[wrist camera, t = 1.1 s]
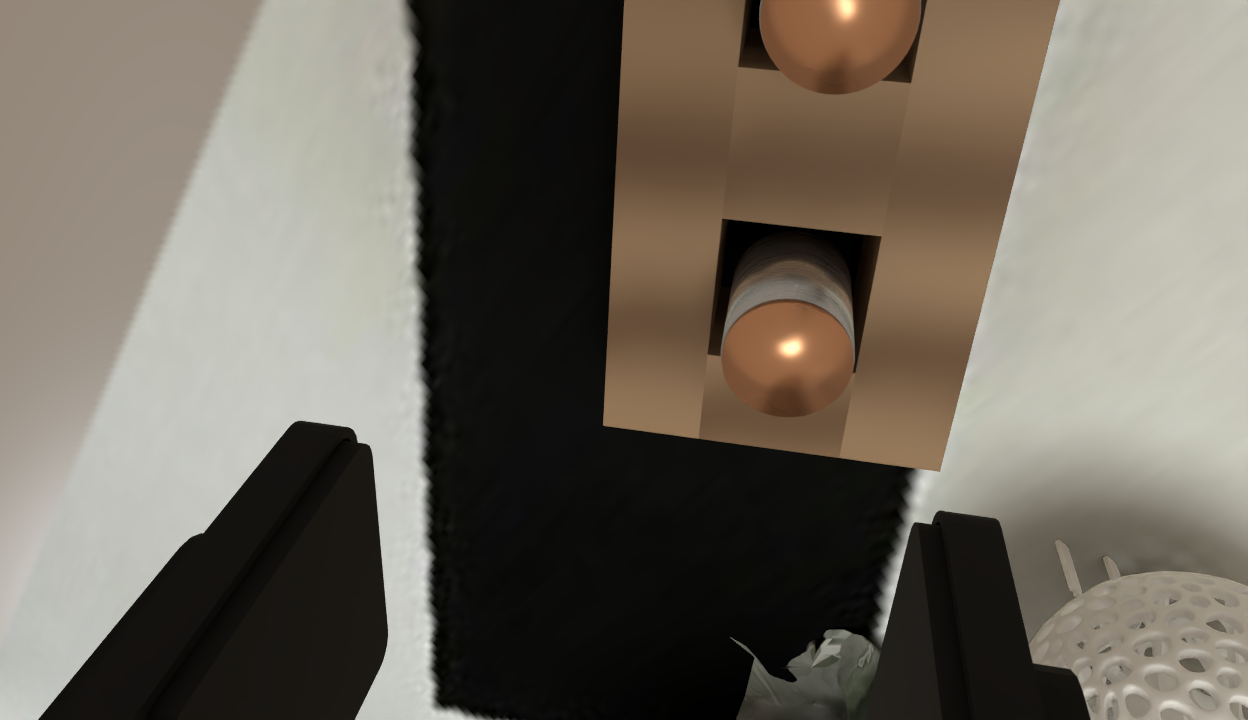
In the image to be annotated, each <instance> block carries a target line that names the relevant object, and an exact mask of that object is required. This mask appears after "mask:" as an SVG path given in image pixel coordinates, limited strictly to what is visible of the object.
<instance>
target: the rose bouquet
mask: <svg viewBox="0 0 1248 720" xmlns="http://www.w3.org/2000/svg"><path fill="white" fill-rule="evenodd" d="M730 638H731V637H730ZM731 639H732V638H731ZM733 640H734V639H733ZM734 641H735V642H736V643H738V644H739V645H740V646H741V647H743V648H744V649H745V650H746V651H748V652H749V653H750V654H752V655H753V653H752V652H751V651H750V650H749V649H748V648H747V647H746V646H744V645H743V644H741V643H739V642H738V641H736V640H734ZM880 653H881V650H879V649H878V648H876V647H875V646H874V645H873V644H872V643H871V642H870V641H869V640H868V639H867V638H865V637H863V636H862V635H856V634H853V633H852V632H850V631H848V630H841V629H838V630H826V631H825V632H824V634H823V636H822V637H821V639H820V640H813V641H811V642H809V644H808V646H807V647H806V649H805V651H804V652H803V653H802V654H799V655H797V656H795V657H794V658H793V659H792V660H791V661H790V662H789V663H788V666H785V667H782V668H789V671H790V672H791V673H792V674H793V675H794V676H795V677H796V678H797V681H796V682H794V683H792V682H787V681H785V680H782V679H779V678H776V677H773V676H771V675H769V674H768V672H767V671H766V670H765V669H764V667H763V665H762V664H761V663H760V662H759V661H758V659H757V658H756V657H755V656H754V655H753V656H754V657H755V658H754V662H753V666H752V670H751V674H750V678H749V682H748V686H747V690H746V694H745V698H744V700H743V703H742V705H741V708H740V710H739V713H738V715H737V718H736V720H865V716H866V711H867V706H868V702H869V698H870V694H871V690H872V686H873V682H874V678H875V674H876V670H877V666H878V661H879V657H880ZM779 669H781V668H779Z"/></svg>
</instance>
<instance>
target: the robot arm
mask: <svg viewBox="0 0 1248 720" xmlns="http://www.w3.org/2000/svg"><path fill="white" fill-rule="evenodd" d="M387 640H388V625H387V614H386V603H385V591H384V580H383V569H382V557H381V546H380V535H379V523H378V512H377V501H376V489H375V478H374V467H373V456H372V451H371V448H370V446H369V445H367V444H363V443H358V442H357V437H356V434H355V432H354V430H352V429H351V428H349V427H342V426H335V425H328V424H321V423H313V422H306V421H297V422H294V423H293V424H292V425H291V426H290V427H289V428H288V429H287V431H286V432H285V433H284V434H283V436H282V437H281V438H280V439H279V440H278V442H277V443H276V444H275V445H274V447H273V448H272V449H271V450H270V452H269V453H268V454H267V455H266V457H265V458H264V459H263V460H262V462H261V463H260V464H259V465H258V467H257V468H256V469H255V470H254V471H253V473H252V474H251V475H250V476H249V478H248V479H247V480H246V481H245V483H244V484H243V485H242V486H241V488H240V489H239V490H238V491H237V493H236V494H235V495H234V496H233V497H232V499H231V500H230V501H229V502H228V504H227V505H226V506H225V507H224V509H223V510H222V511H221V512H220V514H219V515H218V516H217V517H216V519H215V520H214V521H213V522H212V523H211V525H210V526H209V527H208V528H207V530H206V531H205V532H204V533H203V534H202V533H201V534H198V535H196V536H193V537H191V538H190V539H188V540H187V541H186V542H185V543H184V544H183V545H182V546H181V547H180V548H179V549H178V550H177V552H176V553H175V554H174V555H173V556H172V558H171V559H170V560H169V561H168V563H167V564H166V565H165V566H164V567H163V569H162V570H161V571H160V572H159V573H158V575H157V576H156V577H155V578H154V580H153V581H152V582H151V583H150V584H149V586H148V587H147V588H146V589H145V590H144V592H143V593H142V594H141V595H140V597H139V598H138V599H137V600H136V601H135V603H134V604H133V605H132V606H131V607H130V609H129V610H128V611H127V612H126V614H125V615H124V616H123V617H122V618H121V620H120V621H119V622H118V623H117V624H116V626H115V627H114V628H113V629H112V631H111V632H110V633H109V634H108V635H107V637H106V638H105V639H104V640H103V641H102V643H101V644H100V645H99V646H98V648H97V649H96V650H95V651H94V652H93V654H92V655H91V656H90V657H89V658H88V660H87V661H86V662H85V663H84V665H83V666H82V667H81V668H80V669H79V671H78V672H77V673H76V674H75V675H74V677H73V678H72V679H71V680H70V682H69V683H68V684H67V685H66V686H65V688H64V689H63V690H62V691H61V693H60V694H59V695H58V696H57V697H56V699H55V700H54V701H53V702H52V703H51V705H50V706H49V707H48V708H47V710H46V711H45V712H44V713H43V714H42V716H41V717H40V718H39V719H38V720H355V718H356V716H357V714H358V712H359V710H360V708H361V706H362V704H363V702H364V700H365V698H366V696H367V693H368V691H369V689H370V687H371V685H372V683H373V681H374V679H375V677H376V675H377V673H378V671H379V669H380V667H381V664H382V662H383V659H384V655H385V652H386V647H387ZM865 720H1091V718H1090V715H1089V711H1088V708H1087V704H1086V701H1085V697H1084V694H1083V690H1082V688H1081V685H1080V683H1079V680H1078V678H1077V676H1076V675H1075V674H1074V673H1073V671H1072V670H1071V669H1067V668H1060V667H1054V666H1047V665H1041V664H1035V663H1033V661H1032V657H1031V653H1030V648H1029V644H1028V640H1027V636H1026V631H1025V627H1024V623H1023V619H1022V614H1021V610H1020V606H1019V601H1018V597H1017V593H1016V589H1015V584H1014V580H1013V576H1012V571H1011V567H1010V563H1009V559H1008V554H1007V550H1006V546H1005V541H1004V537H1003V533H1002V529H1001V526H1000V523H999V521H998V520H997V519H995V518H988V517H981V516H974V515H967V514H959V513H952V512H945V511H938V512H937V513H936V514H935V516H934V518H933V522H932V525H931V524H924V523H917V522H915V523H914V524H913V526H912V528H911V532H910V535H909V539H908V543H907V547H906V551H905V555H904V560H903V564H902V568H901V572H900V576H899V580H898V584H897V588H896V592H895V596H894V600H893V604H892V608H891V613H890V617H889V621H888V625H887V629H886V633H885V637H884V641H883V645H882V649H881V653H880V657H879V661H878V666H877V670H876V674H875V678H874V682H873V686H872V690H871V694H870V698H869V702H868V706H867V711H866V716H865Z"/></svg>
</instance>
